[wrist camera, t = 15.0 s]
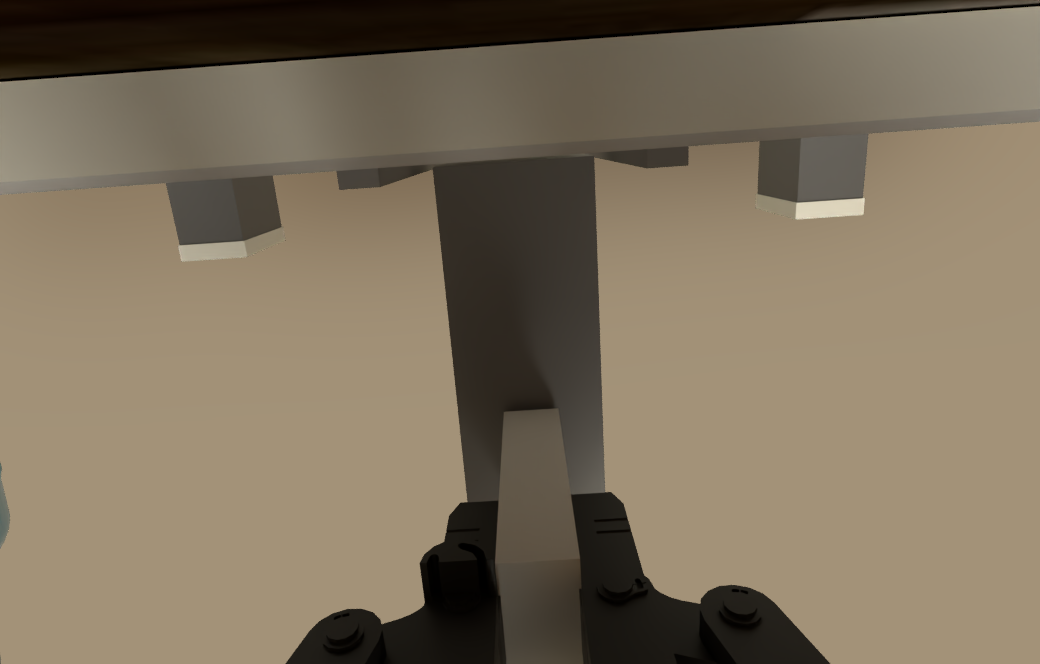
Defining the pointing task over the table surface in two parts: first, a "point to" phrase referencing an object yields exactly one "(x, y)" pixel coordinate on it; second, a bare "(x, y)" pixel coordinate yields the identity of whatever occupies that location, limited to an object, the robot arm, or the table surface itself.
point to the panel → (522, 113)
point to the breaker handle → (523, 307)
